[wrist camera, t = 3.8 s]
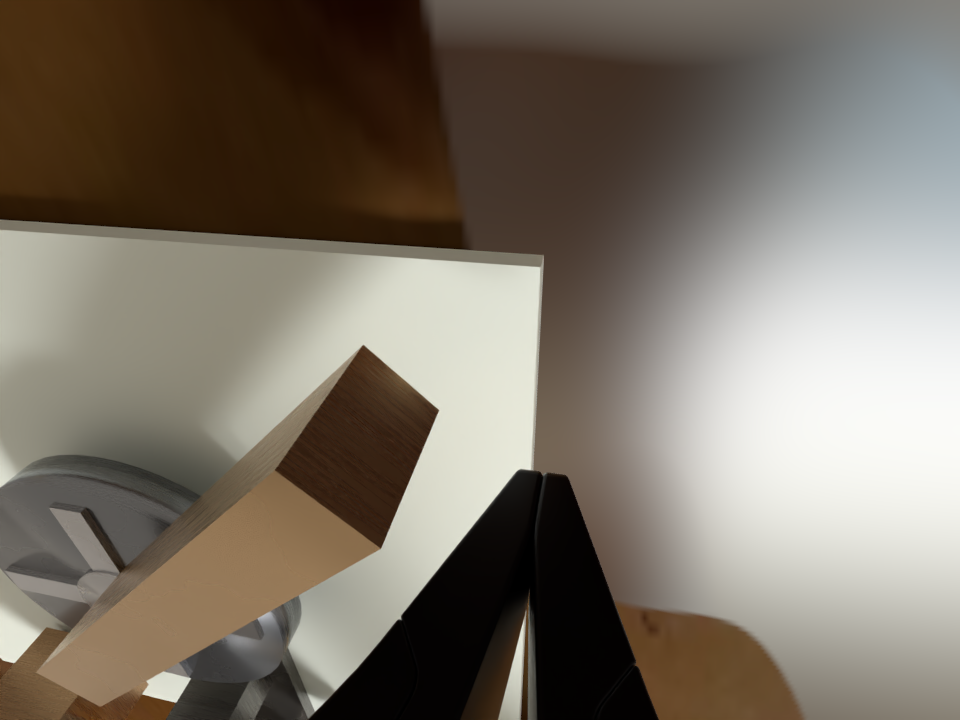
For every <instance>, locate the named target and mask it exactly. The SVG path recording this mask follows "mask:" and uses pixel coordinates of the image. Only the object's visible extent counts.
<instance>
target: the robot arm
mask: <svg viewBox="0 0 960 720" xmlns="http://www.w3.org/2000/svg"><path fill="white" fill-rule="evenodd" d="M529 592H530V596H529ZM528 598H529V632H528V720H659V719H658V716H657V714H656V711H655V709H654V706H653V704H652V701H651V699H650V696H649V694H648V691H647V689H646V686H645V683H644V680H643V678H642V675H641V672H640V670H639V668H638V667H637V666H635V665H636V660H635V657H634V654H633V651H632V649H631V646H630V643H629V641H628V638H627V635H626V632H625V630H624V627H623V624H622V622H621V619H620V616H619V613H618V611H617V608H616V605H615V603H614V600H613V597H612V595H611V592H610V589H609V586H608V584H607V581H606V579H605V576H604V573H603V570H602V567H601V565H600V562H599V559H598V557H597V554H596V551H595V548H594V546H593V543H592V540H591V538H590V535H589V532H588V529H587V527H586V524H585V521H584V519H583V516H582V513H581V510H580V508H579V505H578V502H577V500H576V497H575V494H574V492H573V489H572V486H571V484H570V481H569V479H568V477H567V476H566V475H562V474H555V473H544V474H543V476H542V474H541V472H539V471H533V470H526V469H519V470H517V471H516V472H515V474H514V475H513V476H512V477H511V479H510V480H509V481H508V482H507V484H506V485H505V486H504V487H503V489H502V490H501V491H500V492H499V494H498V495H497V496H496V497H495V499H494V500H493V501H492V502H491V504H490V505H489V506H488V507H487V509H486V510H485V511H484V512H483V514H482V515H481V516H480V517H479V519H478V520H477V521H476V522H475V524H474V525H473V526H472V527H471V529H470V530H469V531H468V532H467V534H466V535H465V536H464V537H463V539H462V540H461V541H460V542H459V544H458V545H457V546H456V547H455V549H454V550H453V551H452V552H451V554H450V555H449V556H448V557H447V559H446V560H445V561H444V562H443V564H442V565H441V566H440V567H439V569H438V570H437V571H436V572H435V574H434V575H433V576H432V577H431V579H430V580H429V581H428V582H427V584H426V585H425V586H424V587H423V589H422V590H421V591H420V592H419V594H418V595H417V596H416V597H415V599H414V600H413V601H412V602H411V604H410V605H409V606H408V607H407V609H406V610H405V611H404V612H403V614H402V615H401V620H400V619H398V620H397V621H396V622H395V623H394V624H393V626H392V627H391V628H390V629H389V631H388V632H387V633H386V635H385V636H384V637H383V638H382V639H381V641H380V642H379V643H378V644H377V645H376V647H375V648H374V649H373V650H372V651H371V652H370V654H369V655H368V656H367V657H366V658H365V659H364V661H363V662H362V663H361V664H360V665H359V667H358V668H357V669H356V670H355V671H354V672H353V673H352V674H351V675H350V676H349V677H348V678H347V679H346V680H345V681H344V682H343V684H342V685H341V686H340V687H339V688H338V689H337V690H336V691H335V692H334V693H333V694H332V695H331V696H330V697H329V698H328V699H327V700H326V701H325V702H324V703H323V704H322V705H321V706H320V707H319V708H318V709H317V710H316V711H315V712H314V713H313V714H312V715H311V716H310V717H309V718H308V719H307V720H498V718H499V714H500V710H501V706H502V703H503V699H504V695H505V691H506V687H507V683H508V679H509V675H510V671H511V667H512V663H513V660H514V656H515V652H516V648H517V644H518V640H519V636H520V632H521V628H522V624H523V621H524V617H525V612H526V608H527V603H528Z"/></svg>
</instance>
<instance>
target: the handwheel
mask: <svg viewBox="0 0 960 720" xmlns="http://www.w3.org/2000/svg"><path fill="white" fill-rule="evenodd" d="M438 412H439V410H438V409H437V408H436V407H435V406H434V405H433V404H432V403H430V402H429V401H428V400H427V399H426V398H425V397H423V396H422V395H421V394H420V393H419V392H418V391H416V390H415V389H414V388H413V387H412V386H411V385H410V384H408V383H407V382H406V381H405V380H404V379H403V378H401V377H400V376H399V375H398V374H397V373H396V372H394V371H393V370H392V369H391V368H390V367H389V366H388V365H386V364H385V363H384V362H383V361H382V360H381V359H379V358H378V357H377V356H376V355H375V354H374V353H372V352H371V351H370V350H369V349H368V348H367V347H366V346H364V345H362V346H361V347H360V348H359V349H358V350H357V351H356V352H355V353H354V354H353V355H352V356H351V357H350V358H349V359H347V360H346V361H345V362H344V363H343V364H342V365H341V366H340V367H339V368H338V369H337V370H336V371H335V372H334V373H332V374H331V375H330V376H329V377H328V378H327V379H326V380H325V381H324V382H323V383H322V384H321V385H320V386H319V387H317V388H316V389H315V390H314V391H313V392H312V393H311V394H310V395H309V396H308V397H307V398H306V399H305V400H304V401H302V402H301V403H300V404H299V405H298V406H297V407H296V408H295V409H294V410H293V411H292V412H291V413H290V414H289V415H287V416H286V417H285V418H284V419H283V420H282V421H281V422H280V423H279V424H278V425H277V426H276V427H275V428H274V429H272V430H271V431H270V432H269V433H268V434H267V435H266V436H265V437H264V438H263V439H262V440H261V441H260V442H259V443H257V444H256V445H255V446H254V447H253V448H252V449H251V450H250V451H249V452H248V453H247V454H246V455H245V456H244V457H242V458H241V459H240V460H239V461H238V462H237V463H236V464H235V465H234V466H233V467H232V468H231V469H230V470H229V471H227V472H226V473H225V474H224V475H223V476H222V477H221V478H220V479H219V480H218V481H217V482H216V483H215V484H214V485H212V486H211V487H210V488H209V489H208V490H207V491H206V492H205V493H204V494H203V495H202V496H200V495H198V494H196V493H194V492H193V491H191V490H189V489H187V488H185V487H184V486H182V485H179V484H177V483H175V482H173V481H171V480H169V479H166V478H164V477H162V476H160V475H157V474H155V473H152V472H149V471H147V470H144V469H141V468H139V467H136V466H132V465H129V464H125V463H122V462H119V461H115V460H110V459H105V458H100V457H94V456H85V455H56V456H50V457H45V458H42V459H39V460H37V461H34V462H32V463H31V464H29V465H28V466H26V467H25V468H23V469H22V470H21V471H20V472H19V473H17V474H16V475H15V476H14V477H12V478H11V479H10V480H9V481H8V482H6V483H5V484H4V485H3V486H1V487H0V569H1V570H2V571H3V572H4V574H5V575H6V576H7V577H8V578H9V579H10V580H11V581H12V582H13V583H14V584H15V585H16V586H17V587H18V588H19V589H20V590H21V591H22V592H24V593H25V594H26V595H27V596H28V597H29V598H30V599H32V600H33V601H34V602H35V603H37V604H38V605H39V606H40V607H42V608H43V609H44V610H46V611H47V612H48V613H50V614H51V615H52V616H54V617H55V618H57V619H58V620H60V621H61V622H63V623H64V624H66V625H67V626H69V627H70V628H72V630H71V631H70V633H69V634H68V635H67V636H66V637H65V638H64V640H63V641H62V642H61V643H60V644H59V646H58V647H57V648H56V649H55V650H54V651H53V653H52V654H51V655H50V656H49V657H48V659H47V660H46V661H45V662H44V663H43V665H42V666H41V667H40V668H39V669H38V670H37V672H36V673H38V674H40V675H42V676H43V677H45V678H47V679H49V680H51V681H53V682H55V683H57V684H58V685H60V686H62V687H64V688H66V689H68V690H70V691H72V692H74V693H75V694H77V695H79V696H81V697H83V698H85V699H87V700H89V701H90V702H92V703H94V704H96V705H98V706H100V707H101V706H103V705H105V704H106V703H108V702H110V701H112V700H114V699H115V698H117V697H119V696H121V695H122V694H124V693H126V692H128V691H130V690H131V689H133V688H135V687H137V686H138V685H140V684H142V683H144V682H146V681H147V680H149V679H151V678H153V677H154V676H156V675H158V674H160V673H162V672H163V671H164V672H167V673H172V674H176V675H180V676H183V677H188V678H193V679H197V680H203V681H211V682H221V683H240V682H248V681H254V680H257V679H260V678H263V677H265V676H267V675H269V674H270V673H272V672H273V671H274V670H275V669H276V668H277V667H278V666H279V664H280V662H281V660H282V658H283V656H284V654H285V652H286V650H287V648H288V646H289V644H290V642H291V640H292V638H293V636H294V634H295V632H296V630H297V628H298V626H299V624H300V620H301V615H302V611H301V601H300V598H299V595H300V594H302V593H304V592H305V591H307V590H309V589H311V588H312V587H314V586H316V585H318V584H320V583H321V582H323V581H325V580H327V579H328V578H330V577H332V576H334V575H336V574H337V573H339V572H341V571H343V570H344V569H346V568H348V567H350V566H352V565H353V564H355V563H357V562H359V561H360V560H362V559H364V558H366V557H367V556H369V555H371V554H373V553H375V552H376V551H378V550H380V549H381V548H382V546H383V543H384V541H385V538H386V536H387V534H388V531H389V529H390V526H391V524H392V522H393V519H394V517H395V515H396V512H397V510H398V507H399V505H400V503H401V500H402V498H403V495H404V493H405V491H406V488H407V486H408V484H409V481H410V479H411V476H412V474H413V472H414V469H415V467H416V464H417V462H418V460H419V457H420V455H421V453H422V450H423V448H424V445H425V443H426V441H427V438H428V436H429V433H430V431H431V429H432V426H433V424H434V422H435V419H436V417H437V414H438Z"/></svg>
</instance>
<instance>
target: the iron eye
mask: <svg viewBox="0 0 960 720" xmlns="http://www.w3.org/2000/svg"><path fill="white" fill-rule="evenodd" d="M314 712H315V710H314V708H313V706H312V703H311V701H310V699H309V696H308V694H307V692H306V689H305V687H304V685H303V682H302V680H301V677H300V675H299V673H298V670H297V668H296V666H295V663H294V661H293V659H292V656H291V654H290V652H289V649H288V648H287V650H286V652H285V654H284V656H283V658H282V660H281V662H280V664H279V666H278V667H277V668H276V669H275V670H274V671H273V672H272V673H270V674H269V675H267V676H265V677H263V678H260V679H257V680H254V681H248V682H240V683H221V682H211V681H203V680H197V679H193V678H191V679H190V681H189V683H188V684H187V686H186V688H185V689H184V691H183V693H182V694H181V696H180V697H179V699H178V701H177V702H176V704H175V706H174V707H173V709H172V710H171V712H170V714H169V715H168V717H167V719H166V720H307V719H308V718H309V717H310V716H311V715H312V714H313V713H314Z"/></svg>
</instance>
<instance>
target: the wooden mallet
mask: <svg viewBox="0 0 960 720" xmlns="http://www.w3.org/2000/svg"><path fill="white" fill-rule="evenodd" d="M69 633H70V632H66V631H61V630H57V629H52V628H48V627H46V628H45V629H44V631H43V632H42V633H41V634H40V635H39V636H38V637H37V638H36V640H35V641H34V642H33V643H32V644H31V645H30V646H29V647H28V649H27V650H26V651H25V652H24V653H23V654H22V655H21V656H20V658H19V659H18V660H17V661H16V662H15V663H14V664H13V665H12V667H11V668H10V669H9V670H8V671H7V672H6V673H5V674H4V676H3V677H2V678H1V679H0V720H125V719H126V718H127V716H128V715H129V713H130V712H131V710H132V709H133V707H134V706H135V704H136V703H137V701H138V700H139V698H140V697H141V695H142V694H143V692H144V691H145V689H146V688H147V686H148V685H149V684H148V683H147V682H144V683H142V684H140V685H138V686H137V687H135V688H133V689H131V690H130V691H128V692H126V693H124V694H122V695H121V696H119V697H117V698H115V699H114V700H112V701H110V702H108V703H106V704H105V705H103V706H101V707H100V706H98V705H96V704H94V703H92V702H90V701H89V700H87V699H85V698H83V697H81V696H79V695H77V694H75V693H74V692H72V691H70V690H68V689H66V688H64V687H62V686H60V685H58V684H57V683H55V682H53V681H51V680H49V679H47V678H45V677H43V676H42V675H40V674H38V673H36V672H37V670H38V669H39V668H40V667H41V666H42V665H43V663H44V662H45V661H46V660H47V659H48V657H49V656H50V655H51V654H52V653H53V651H54V650H55V649H56V648H57V647H58V646H59V644H60V643H61V642H62V641H63V640H64V638H65V637H66V636H67V635H68V634H69Z"/></svg>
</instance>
